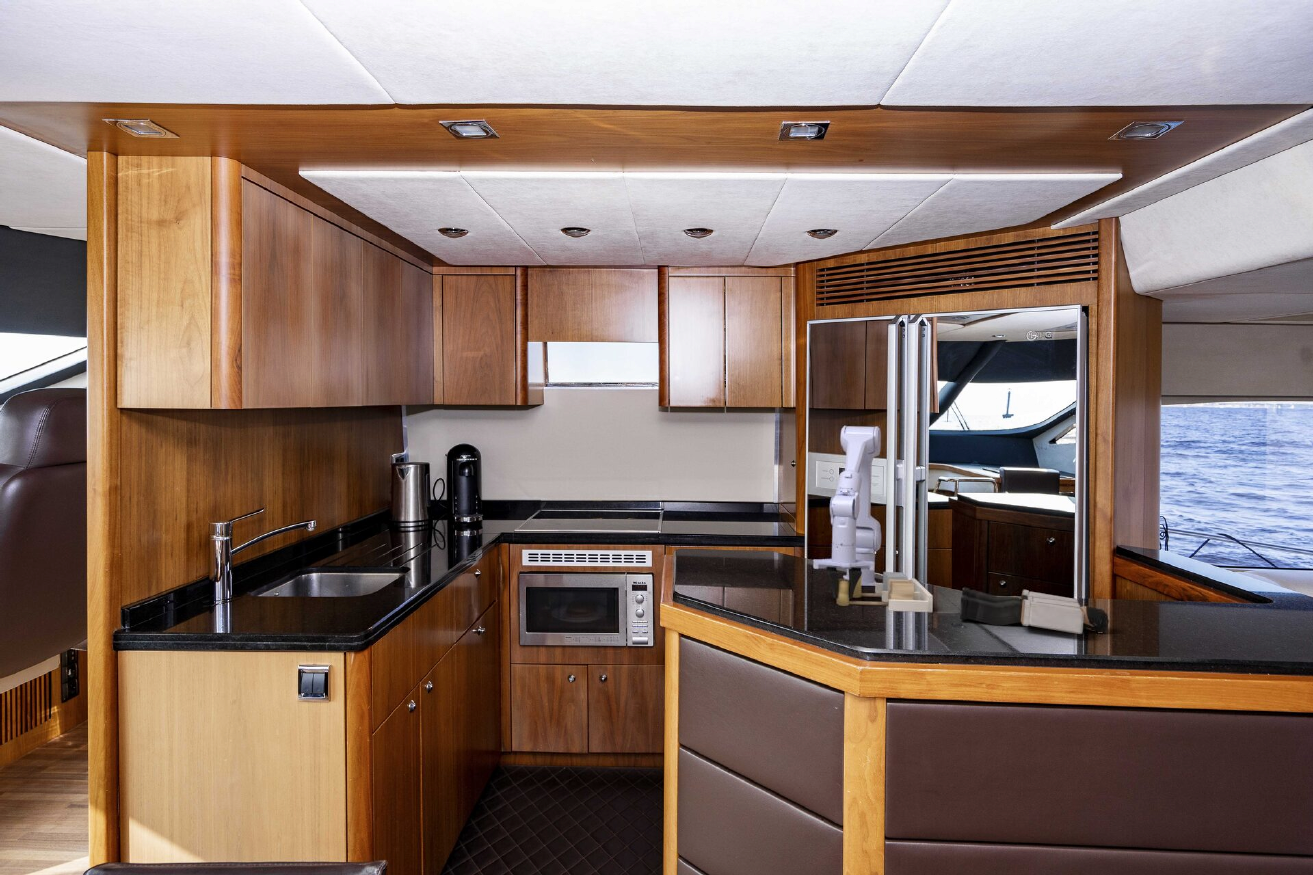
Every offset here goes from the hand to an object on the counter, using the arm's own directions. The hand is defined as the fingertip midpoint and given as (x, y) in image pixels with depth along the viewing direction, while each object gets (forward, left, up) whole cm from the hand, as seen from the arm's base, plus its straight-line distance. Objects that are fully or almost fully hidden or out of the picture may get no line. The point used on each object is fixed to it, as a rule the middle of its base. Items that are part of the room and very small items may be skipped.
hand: (842, 597), depth 181 cm
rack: (-4, +15, -2) cm, 16 cm away
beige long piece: (0, +7, -2) cm, 8 cm away
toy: (+11, +41, -2) cm, 42 cm away
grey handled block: (-8, +10, -2) cm, 13 cm away
